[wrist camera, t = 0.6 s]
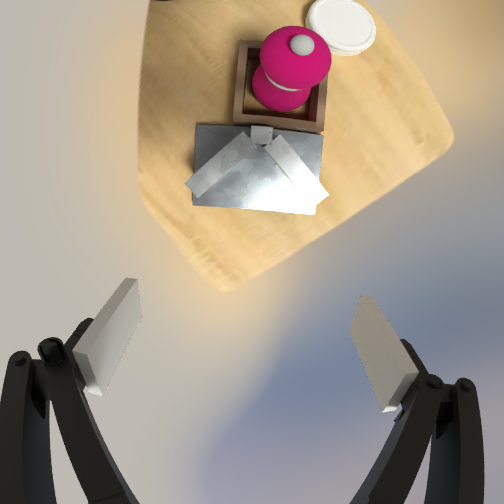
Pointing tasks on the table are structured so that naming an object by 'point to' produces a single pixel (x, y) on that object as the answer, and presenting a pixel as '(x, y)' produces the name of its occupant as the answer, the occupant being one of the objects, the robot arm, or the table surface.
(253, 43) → the wooden square frame
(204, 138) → the v block
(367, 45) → the coaster
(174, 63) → the table surface
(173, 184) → the table surface
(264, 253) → the table surface
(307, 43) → the pepper mill
